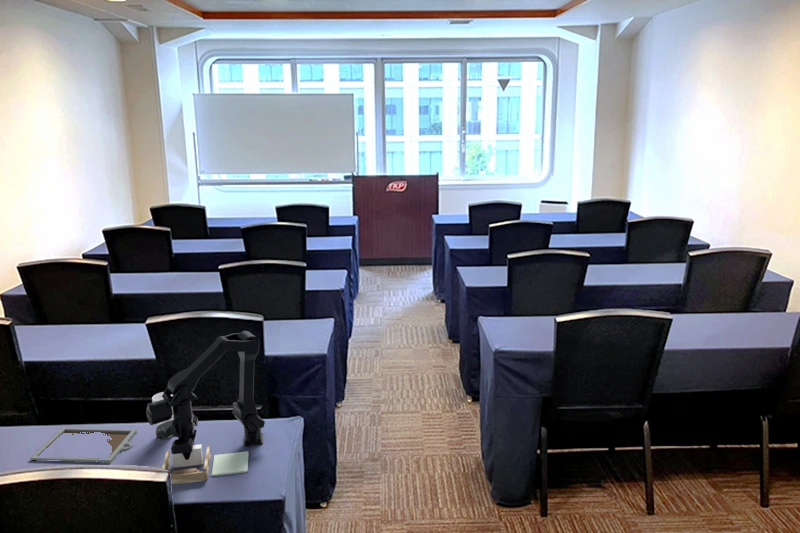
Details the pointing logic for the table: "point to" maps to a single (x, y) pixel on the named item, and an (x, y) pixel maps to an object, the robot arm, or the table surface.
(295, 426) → the table surface
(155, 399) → the drinking glass
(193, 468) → the offcut stack
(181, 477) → the rack
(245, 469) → the mat
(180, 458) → the white block
